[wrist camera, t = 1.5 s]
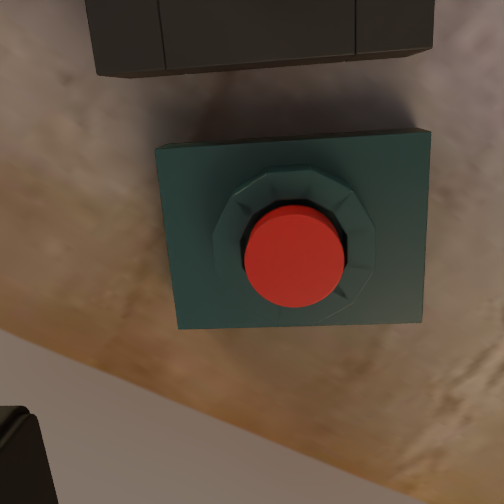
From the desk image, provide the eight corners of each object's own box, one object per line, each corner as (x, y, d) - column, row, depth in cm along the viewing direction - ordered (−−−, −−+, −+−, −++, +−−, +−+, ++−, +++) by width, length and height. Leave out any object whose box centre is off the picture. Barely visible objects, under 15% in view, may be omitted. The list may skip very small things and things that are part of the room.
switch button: (339, 201, 20) (344, 211, 18) (340, 289, 21) (345, 306, 19) (244, 206, 20) (240, 216, 18) (251, 292, 21) (247, 309, 20)
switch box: (418, 127, 22) (445, 134, 18) (411, 303, 25) (433, 341, 21) (166, 143, 23) (141, 153, 19) (186, 310, 26) (169, 348, 22)
